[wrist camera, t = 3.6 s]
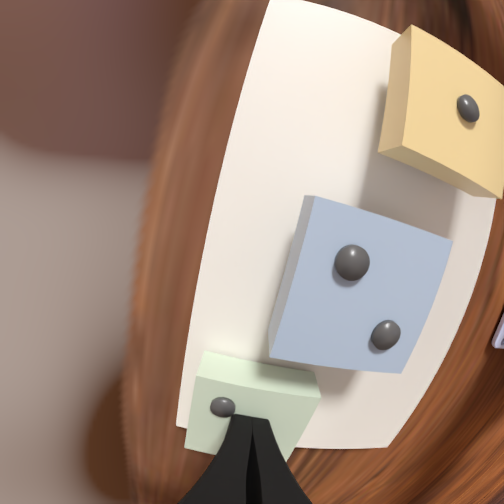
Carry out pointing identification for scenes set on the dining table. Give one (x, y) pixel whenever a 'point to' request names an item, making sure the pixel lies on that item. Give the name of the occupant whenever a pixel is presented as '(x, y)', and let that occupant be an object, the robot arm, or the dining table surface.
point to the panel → (329, 187)
